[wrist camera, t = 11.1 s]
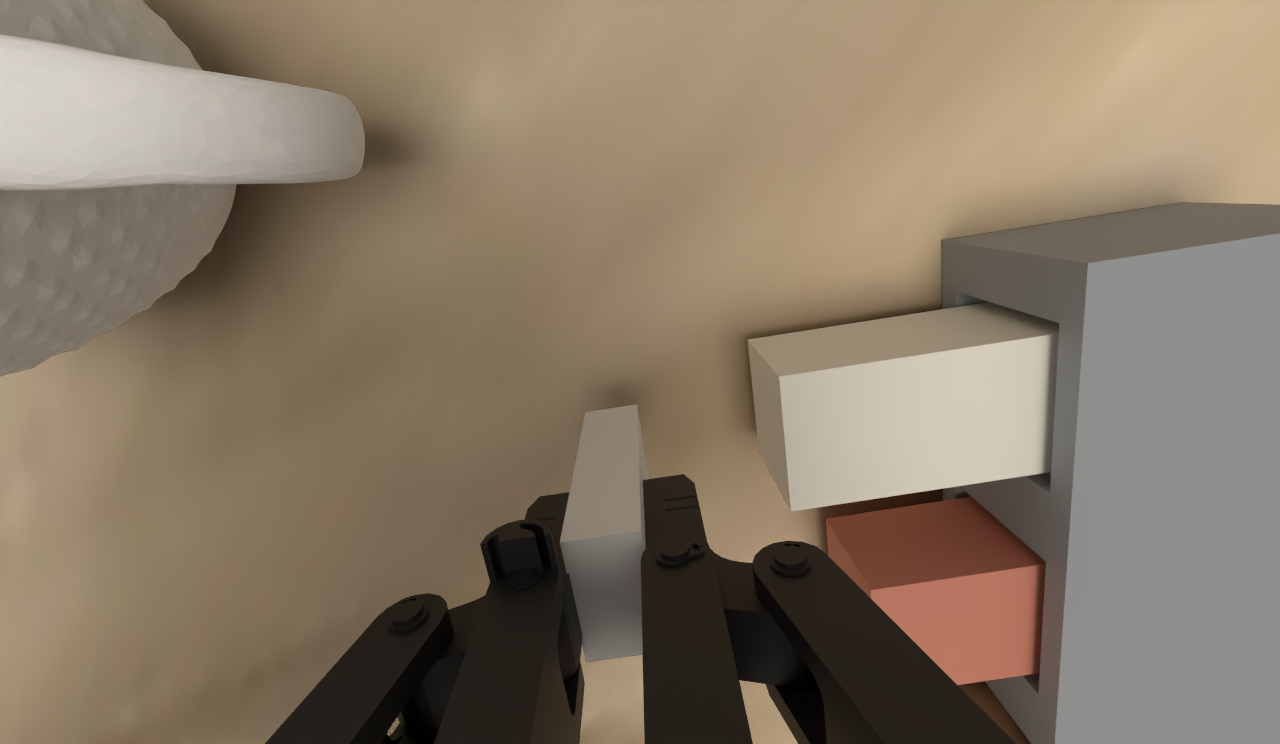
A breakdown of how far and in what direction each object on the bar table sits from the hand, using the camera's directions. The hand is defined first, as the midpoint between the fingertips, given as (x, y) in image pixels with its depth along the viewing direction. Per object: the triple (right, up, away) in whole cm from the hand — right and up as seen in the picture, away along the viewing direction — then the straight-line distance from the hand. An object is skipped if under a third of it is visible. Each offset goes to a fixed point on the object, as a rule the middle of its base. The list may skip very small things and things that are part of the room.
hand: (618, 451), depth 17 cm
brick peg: (+12, -4, +5) cm, 14 cm away
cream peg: (+9, +2, +3) cm, 9 cm away
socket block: (+16, -3, +6) cm, 18 cm away
